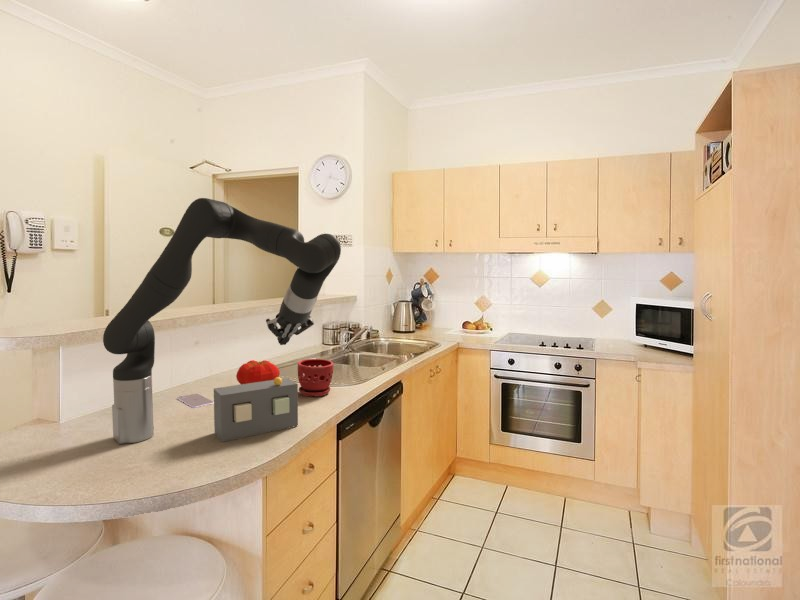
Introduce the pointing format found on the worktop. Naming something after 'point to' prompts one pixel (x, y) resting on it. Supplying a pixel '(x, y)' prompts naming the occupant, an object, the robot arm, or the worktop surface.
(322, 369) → the plant pot
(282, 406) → the key sage
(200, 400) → the mobile phone
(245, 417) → the block
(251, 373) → the tomato
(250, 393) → the keypad console
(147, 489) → the worktop surface
